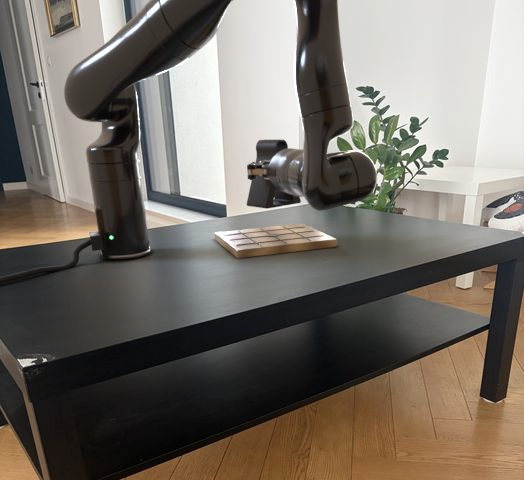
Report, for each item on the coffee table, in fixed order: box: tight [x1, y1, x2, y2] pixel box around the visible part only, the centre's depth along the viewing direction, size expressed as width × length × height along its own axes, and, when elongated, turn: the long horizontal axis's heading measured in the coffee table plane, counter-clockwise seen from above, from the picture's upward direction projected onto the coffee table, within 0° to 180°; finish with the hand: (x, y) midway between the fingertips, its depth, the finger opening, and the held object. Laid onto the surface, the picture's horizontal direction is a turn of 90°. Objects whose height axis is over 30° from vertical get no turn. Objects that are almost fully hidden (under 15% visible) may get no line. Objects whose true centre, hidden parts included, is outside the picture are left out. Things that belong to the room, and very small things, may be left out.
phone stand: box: [246, 139, 302, 210], centre depth 106 cm, size 9×6×12 cm, turn 128°
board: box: [214, 223, 338, 259], centre depth 111 cm, size 20×18×2 cm
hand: (266, 166), depth 108 cm, fingers closed on phone stand, 3 cm apart
